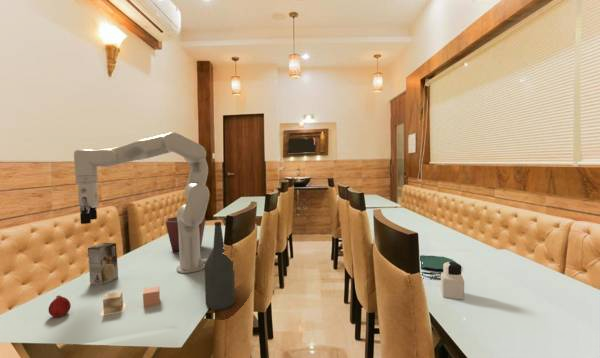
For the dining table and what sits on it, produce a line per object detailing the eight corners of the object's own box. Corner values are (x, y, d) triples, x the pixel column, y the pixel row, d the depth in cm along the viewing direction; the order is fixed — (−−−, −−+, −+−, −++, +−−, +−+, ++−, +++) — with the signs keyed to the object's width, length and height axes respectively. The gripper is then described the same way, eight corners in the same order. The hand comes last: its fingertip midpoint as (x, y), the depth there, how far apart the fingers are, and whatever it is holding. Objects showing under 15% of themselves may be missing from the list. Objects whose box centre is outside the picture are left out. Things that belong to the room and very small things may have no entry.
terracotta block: (159, 302, 115) (159, 286, 115) (159, 307, 111) (158, 291, 110) (144, 304, 114) (144, 288, 113) (143, 310, 109) (142, 293, 109)
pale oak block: (122, 305, 111) (122, 291, 111) (120, 311, 106) (120, 296, 106) (106, 307, 109) (105, 293, 109) (103, 314, 104) (102, 299, 104)
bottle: (211, 297, 118) (209, 219, 116) (237, 297, 118) (234, 219, 116) (202, 310, 108) (199, 225, 106) (230, 310, 107) (227, 224, 106)
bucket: (196, 254, 174) (194, 210, 173) (157, 255, 175) (155, 211, 173) (209, 243, 199) (208, 204, 197) (175, 244, 199) (173, 205, 198)
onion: (57, 314, 107) (55, 291, 107) (75, 313, 107) (73, 290, 107) (45, 323, 101) (43, 299, 101) (63, 322, 102) (62, 298, 101)
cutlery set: (454, 260, 156) (453, 256, 156) (464, 284, 128) (464, 278, 128) (412, 258, 163) (412, 253, 163) (413, 279, 134) (413, 274, 134)
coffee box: (106, 276, 143) (104, 242, 142) (118, 277, 141) (116, 242, 140) (89, 284, 134) (87, 247, 133) (102, 285, 132) (100, 248, 131)
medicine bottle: (461, 292, 119) (461, 261, 118) (464, 300, 112) (464, 267, 111) (440, 290, 121) (440, 259, 120) (442, 297, 114) (442, 265, 114)
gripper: (91, 180, 120) (94, 224, 121) (102, 178, 136) (104, 217, 137) (68, 181, 118) (71, 226, 118) (82, 179, 134) (84, 218, 135)
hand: (89, 221), depth 128 cm, fingers open, 9 cm apart
